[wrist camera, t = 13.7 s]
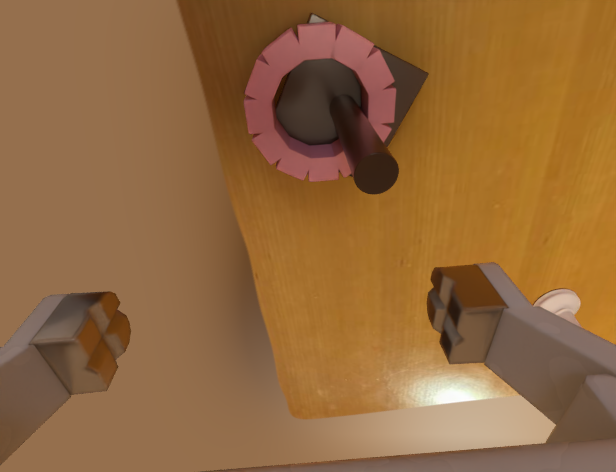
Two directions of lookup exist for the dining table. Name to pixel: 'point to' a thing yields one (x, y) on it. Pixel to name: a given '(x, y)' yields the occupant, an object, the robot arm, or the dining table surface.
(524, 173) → the dining table surface
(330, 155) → the ring
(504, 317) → the robot arm
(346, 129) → the stand
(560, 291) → the chess piece
